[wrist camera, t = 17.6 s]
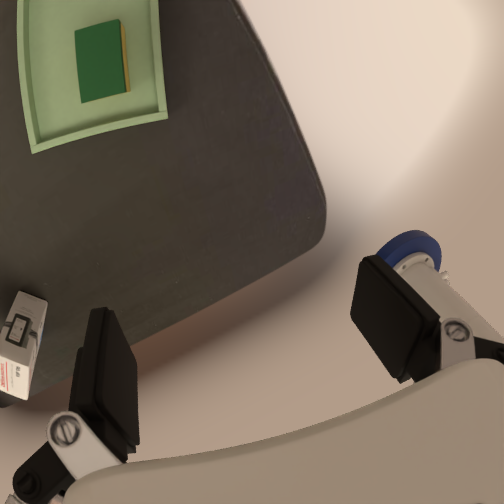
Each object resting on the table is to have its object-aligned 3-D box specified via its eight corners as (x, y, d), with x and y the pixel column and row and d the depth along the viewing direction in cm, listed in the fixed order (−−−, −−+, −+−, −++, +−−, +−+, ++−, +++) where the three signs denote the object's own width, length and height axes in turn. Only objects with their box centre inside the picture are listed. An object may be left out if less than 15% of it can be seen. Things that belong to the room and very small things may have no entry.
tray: (25, -10, 14) (18, -15, 13) (156, -48, 17) (156, -56, 16) (39, 149, 25) (31, 154, 23) (167, 116, 28) (168, 118, 26)
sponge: (86, 37, 20) (74, 30, 17) (124, 27, 21) (118, 18, 17) (92, 101, 24) (81, 103, 20) (130, 91, 25) (125, 92, 21)
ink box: (42, 339, 37) (25, 421, 25) (14, 328, 34) (-9, 408, 22) (49, 300, 34) (24, 389, 22) (18, 288, 32) (-16, 372, 20)
